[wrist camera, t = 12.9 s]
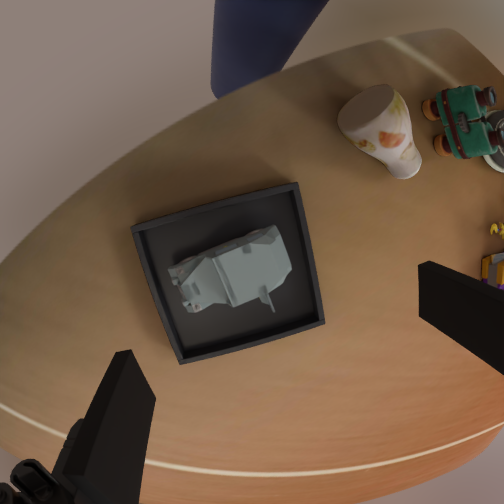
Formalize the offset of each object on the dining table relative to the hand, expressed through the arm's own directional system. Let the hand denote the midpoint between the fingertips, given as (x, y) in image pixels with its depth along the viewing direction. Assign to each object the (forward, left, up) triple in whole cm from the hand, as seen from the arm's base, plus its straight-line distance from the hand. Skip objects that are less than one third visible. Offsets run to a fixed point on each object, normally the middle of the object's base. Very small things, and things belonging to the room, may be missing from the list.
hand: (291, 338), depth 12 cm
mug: (-8, +17, -17) cm, 25 cm away
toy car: (+1, -1, -16) cm, 17 cm away
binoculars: (-9, +30, -17) cm, 35 cm away
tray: (+2, -2, -17) cm, 17 cm away
